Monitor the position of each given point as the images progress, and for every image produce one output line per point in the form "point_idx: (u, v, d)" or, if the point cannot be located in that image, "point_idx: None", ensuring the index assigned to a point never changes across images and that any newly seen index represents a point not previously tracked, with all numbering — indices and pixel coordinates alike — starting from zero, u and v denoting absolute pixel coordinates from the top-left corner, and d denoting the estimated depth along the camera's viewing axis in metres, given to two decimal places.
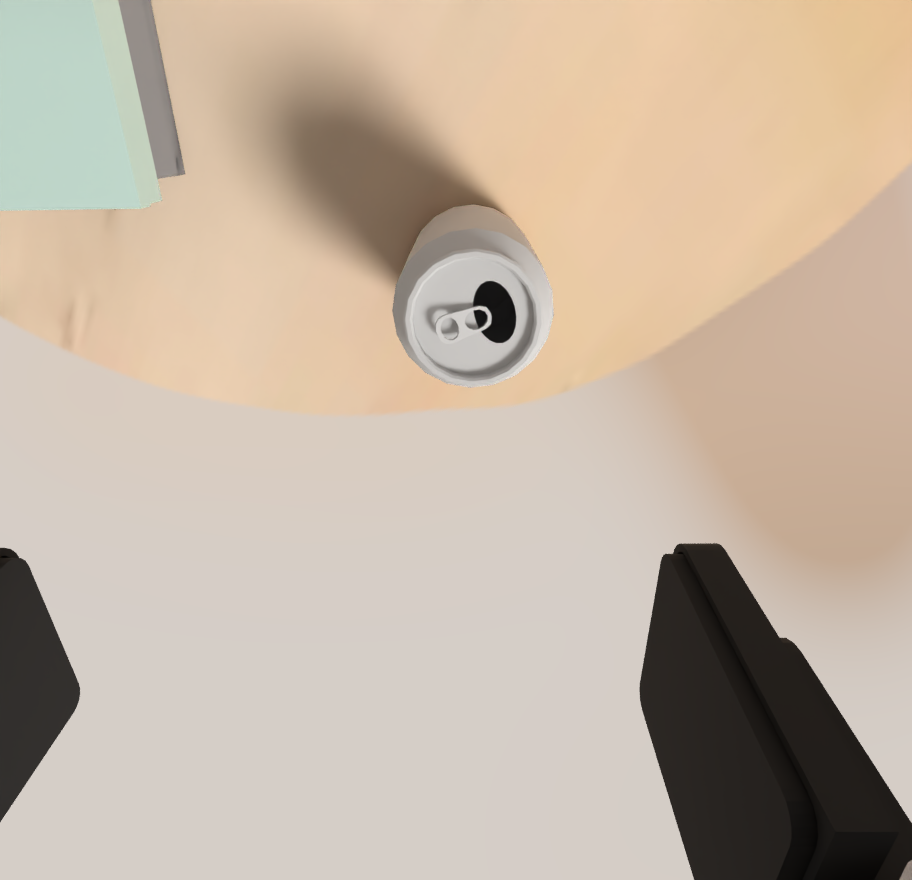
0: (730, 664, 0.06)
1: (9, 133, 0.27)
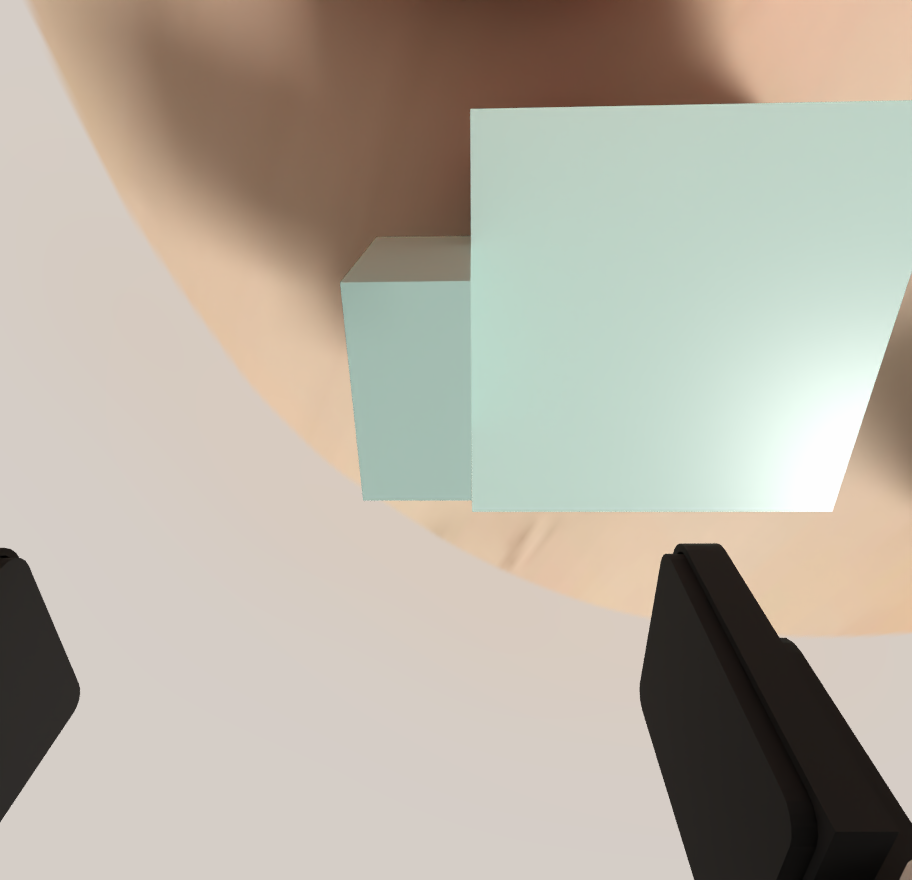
0: (730, 664, 0.06)
1: (704, 433, 0.21)
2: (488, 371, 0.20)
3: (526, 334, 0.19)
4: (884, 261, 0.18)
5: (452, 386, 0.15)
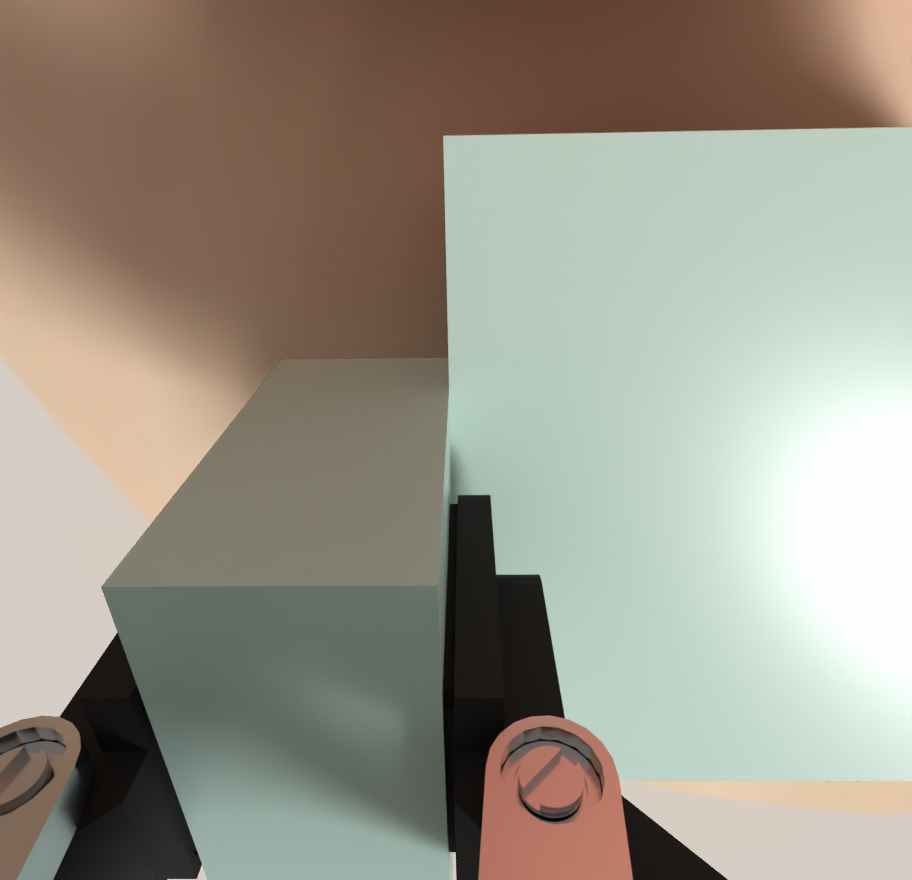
0: (447, 585, 0.08)
1: (851, 678, 0.12)
2: None
3: (552, 535, 0.11)
4: None
5: (402, 773, 0.07)
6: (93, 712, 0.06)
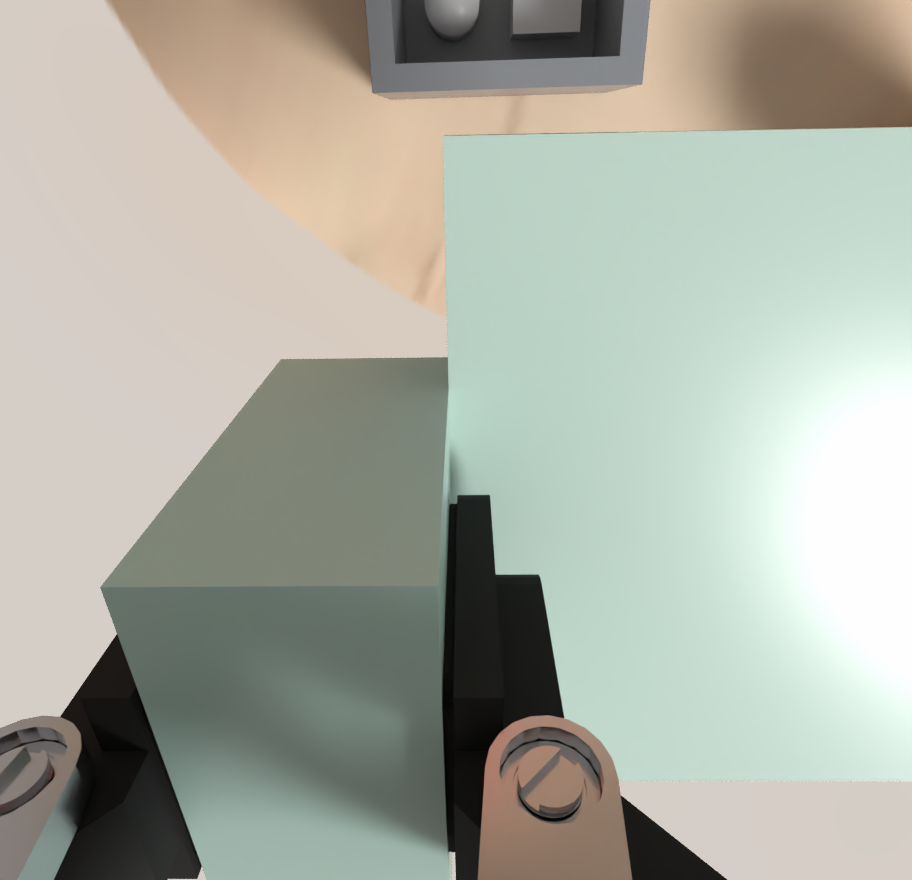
0: (446, 585, 0.08)
1: (851, 679, 0.12)
2: None
3: (551, 535, 0.11)
4: None
5: (402, 773, 0.07)
6: (94, 711, 0.06)
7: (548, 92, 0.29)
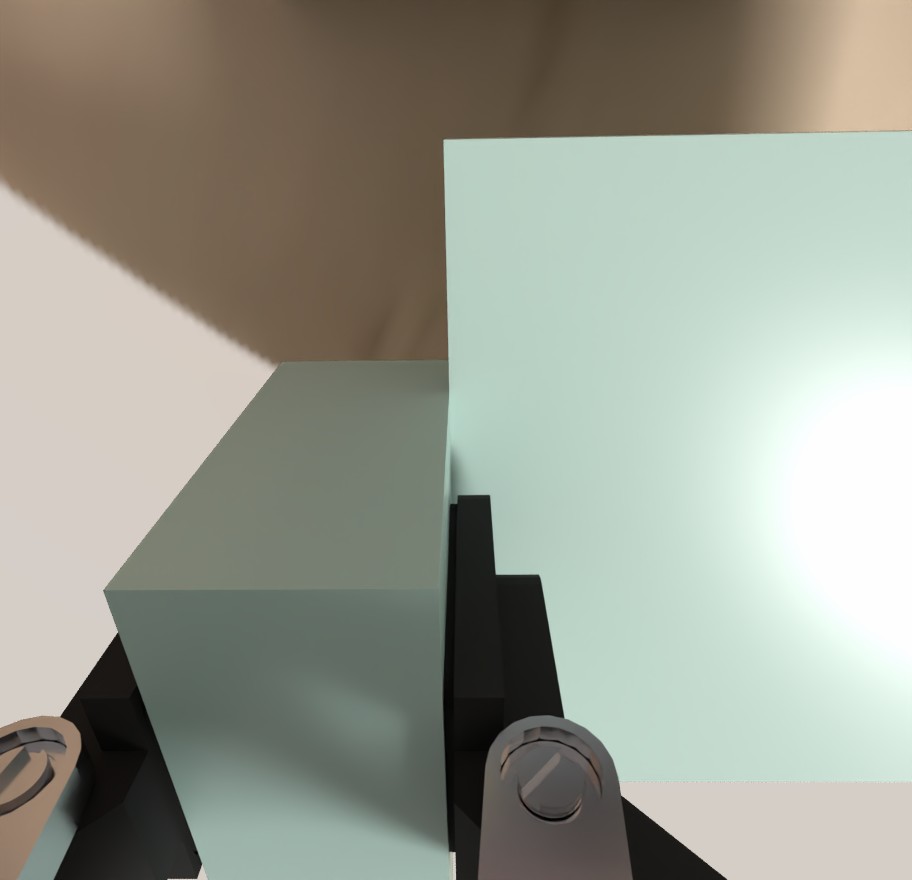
0: None
1: (851, 680, 0.12)
2: None
3: (552, 537, 0.11)
4: None
5: (402, 775, 0.07)
6: (93, 712, 0.06)
7: None
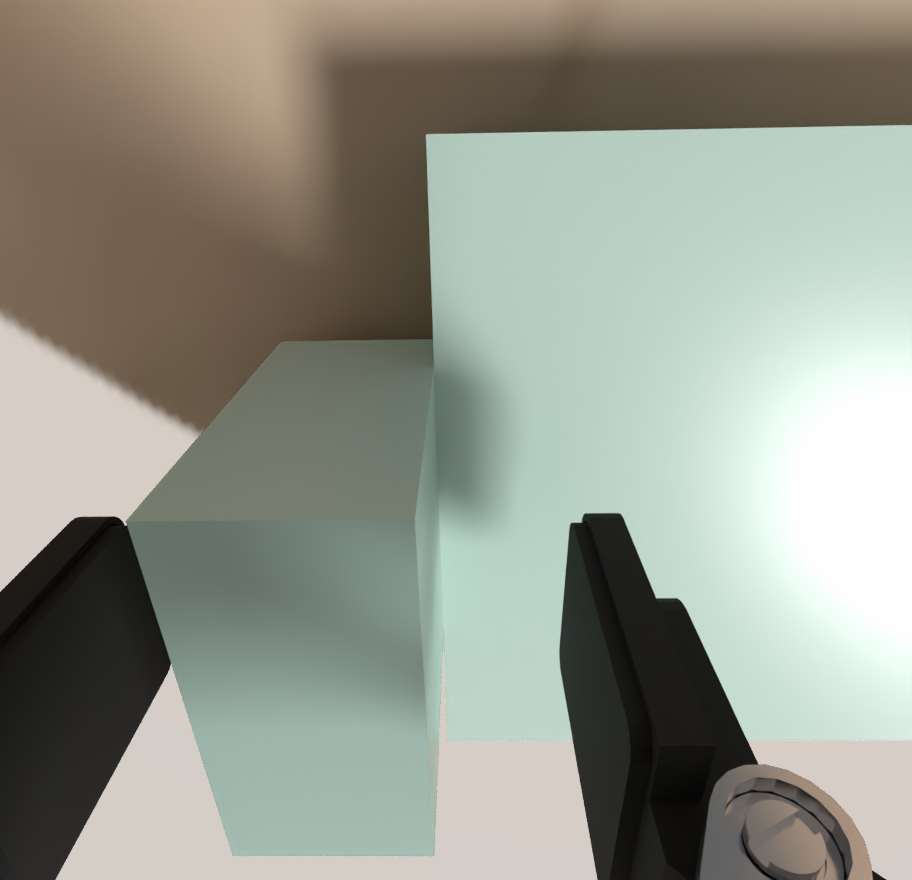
0: (606, 614, 0.07)
1: (812, 640, 0.13)
2: (468, 556, 0.12)
3: (530, 503, 0.11)
4: None
5: (386, 696, 0.07)
6: None
7: None
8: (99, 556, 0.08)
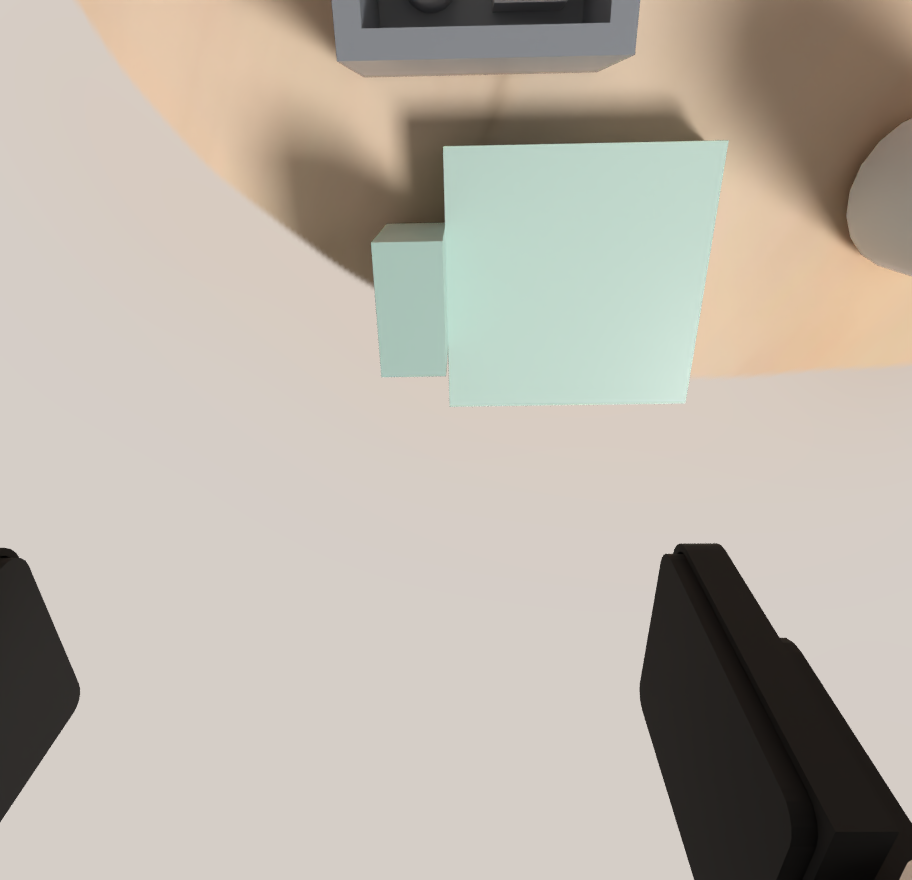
0: (730, 664, 0.06)
1: (597, 349, 0.32)
2: (457, 308, 0.31)
3: (480, 283, 0.31)
4: (694, 235, 0.29)
5: (433, 303, 0.27)
6: None
7: (533, 69, 0.27)
8: None
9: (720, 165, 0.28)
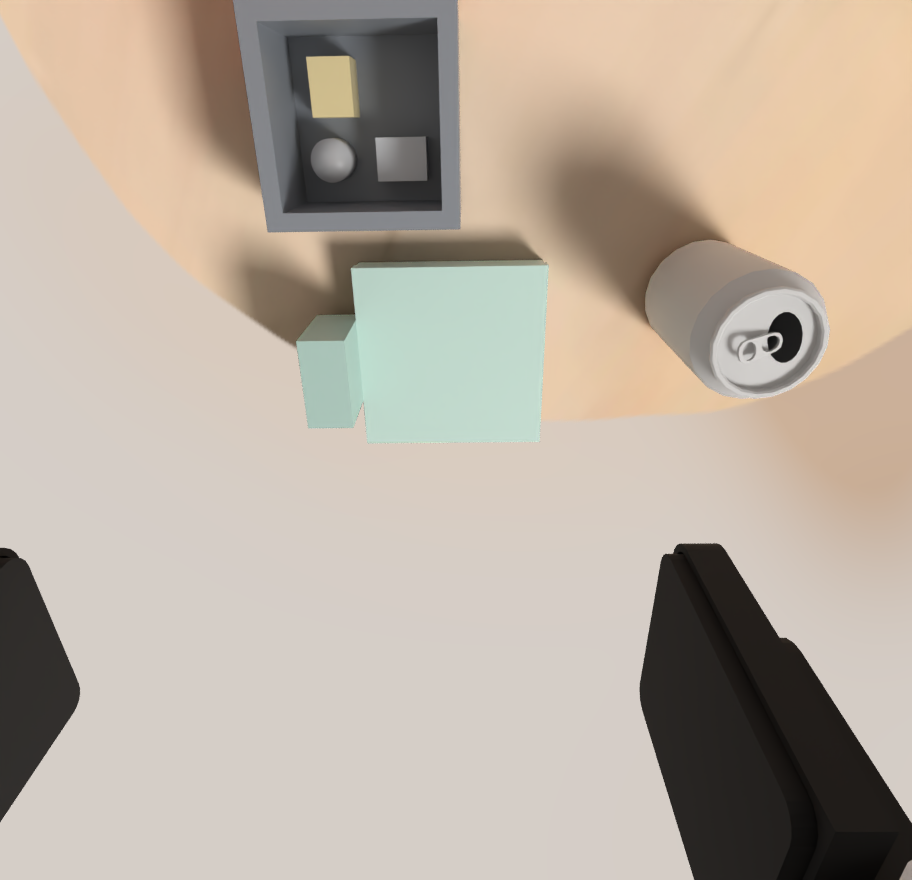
0: (730, 664, 0.06)
1: (471, 403, 0.44)
2: (368, 374, 0.43)
3: (383, 358, 0.43)
4: (532, 327, 0.42)
5: (341, 380, 0.39)
6: None
7: None
8: None
9: (545, 281, 0.40)
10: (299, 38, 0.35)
